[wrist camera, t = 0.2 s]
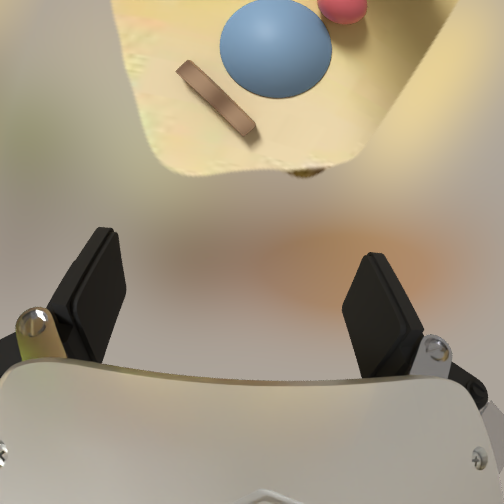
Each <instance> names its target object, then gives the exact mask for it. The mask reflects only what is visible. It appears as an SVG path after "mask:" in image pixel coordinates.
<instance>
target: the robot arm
mask: <svg viewBox="0 0 504 504" xmlns="http://www.w3.org/2000/svg"><path fill="white" fill-rule="evenodd" d="M125 295H126V283H125V277H124V271H123V266H122V259H121V252H120V245H119V238H118V234H117V233H116V232H114V230H113V229H112V228H105V227H98V228H97V229H96V230H95V232H94V233H93V235H92V236H91V238H90V239H89V241H88V242H87V244H86V245H85V247H84V248H83V250H82V251H81V253H80V254H79V256H78V257H77V259H76V260H75V261H74V262H73V263H72V265H71V267H70V268H69V270H68V271H67V273H66V274H65V276H64V278H63V279H62V281H61V283H60V284H59V286H58V288H57V289H56V291H55V293H54V295H53V296H52V298H51V300H50V302H49V304H48V305H47V307H46V308H43V307H33V308H29V309H28V310H26V311H24V312H23V313H22V314H21V315H20V316H19V318H18V319H17V321H16V325H15V331H16V332H14V333H13V334H10V335H8V336H6V337H4V338H2V339H1V340H0V504H504V499H503V493H502V487H501V482H500V477H499V474H500V472H501V470H502V469H503V467H504V414H503V413H502V412H501V411H500V410H499V409H498V408H497V406H496V405H495V404H494V403H493V402H492V401H490V402H488V394H487V390H486V388H485V386H484V385H483V383H482V382H481V381H480V380H478V379H477V378H476V377H474V376H473V375H471V374H470V373H468V372H466V371H465V370H464V369H462V368H460V367H459V366H458V365H456V364H455V363H453V362H452V351H451V348H450V346H449V345H448V343H447V342H446V341H445V340H444V339H442V338H441V337H439V336H437V335H432V334H430V335H426V336H424V335H423V333H422V332H423V331H424V328H423V326H422V324H421V322H420V320H419V318H418V316H417V314H416V312H415V310H414V308H413V306H412V304H411V302H410V300H409V298H408V297H407V295H406V293H405V291H404V289H403V287H402V285H401V284H400V282H399V280H398V278H397V276H396V275H395V273H394V271H393V269H392V268H391V266H390V264H389V262H388V261H387V259H386V257H385V256H384V254H382V253H373V252H369V253H368V254H367V255H365V256H364V257H363V258H362V261H361V263H360V266H359V268H358V270H357V273H356V275H355V277H354V280H353V282H352V285H351V287H350V289H349V291H348V294H347V296H346V298H345V300H344V303H343V305H342V313H343V316H344V319H345V323H346V326H347V329H348V332H349V336H350V339H351V342H352V345H353V349H354V352H355V356H356V359H357V362H358V365H359V369H360V373H361V377H362V379H346V380H319V381H265V380H239V379H223V378H209V377H197V376H186V375H177V374H169V373H160V372H153V371H146V370H139V369H133V368H126V367H119V366H113V365H107V364H101V363H102V361H103V358H104V355H105V352H106V349H107V345H108V343H109V340H110V337H111V334H112V331H113V328H114V325H115V323H116V319H117V317H118V314H119V311H120V309H121V306H122V303H123V300H124V298H125Z"/></svg>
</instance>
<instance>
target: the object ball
mask: <svg viewBox="0 0 504 504" xmlns="http://www.w3.org/2000/svg"><path fill="white" fill-rule="evenodd" d="M317 3H318V7H319V9H320V11H321V12H322V14H323V15H324V16H325V17H326V18H328V19H329V20H331V21H333V22H335V23H338V24H353V23H356V22H358V21H360V20H361V19H362V18H363V17H364V16H365V14H366V12H367V0H317Z"/></svg>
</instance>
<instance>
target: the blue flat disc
mask: <svg viewBox="0 0 504 504" xmlns="http://www.w3.org/2000/svg"><path fill="white" fill-rule="evenodd" d="M331 53H332V45H331V39H330V36H329V33H328V31H327V29H326V27H325V25H324V24H323V22H322V21H321V19H320V18H319V17H318V16H317V15H316V14H315V13H314V12H313V11H311V10H310V9H308V8H307V7H305V6H303V5H301V4H300V3H297V2H294V1H291V0H257V1H254V2H251V3H249V4H247V5H245V6H243V7H242V8H240V9H239V10H237V11H236V12H235V13H234V14H233V15H232V16H231V17H230V19H229V20H228V21H227V23H226V25H225V26H224V29H223V31H222V34H221V39H220V54H221V58H222V61H223V64H224V66H225V68H226V70H227V72H228V73H229V74H230V76H231V77H232V78H233V79H234V80H235V81H236V82H237V83H238V84H239V85H241V86H242V87H243V88H245V89H247V90H248V91H251V92H253V93H255V94H258V95H261V96H266V97H273V98H283V97H290V96H294V95H297V94H300V93H303V92H305V91H306V90H308V89H310V88H311V87H313V86H314V85H315V84H316V83H317V82H318V81H319V80H320V79H321V78H322V77H323V75H324V74H325V72H326V71H327V68H328V66H329V63H330V60H331Z"/></svg>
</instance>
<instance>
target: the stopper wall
mask: <svg viewBox="0 0 504 504" xmlns="http://www.w3.org/2000/svg"><path fill="white" fill-rule="evenodd" d="M175 72H176V73H177V74H179V75H180V76H181V77H182V78H183V79H184V80H185V81H186V82H187V83H188V84H189V85H191V86H192V87H193V88H194V89H195V90H196V91H197V92H198V93H199V94H200V95H201V96H202V97H203V98H205V99H206V100H207V101H208V102H209V103H210V104H211V105H212V106H213V107H214V108H215V109H216V110H217V111H218V112H219V113H220V114H221V115H222V116H223V117H224V118H225V119H226V120H227V121H228V122H229V123H230V124H231V125H232V126H233V127H234V128H235V129H236V130H237V131H238V132H239V133H240V134H241V135H242V136H243V137H244V136H245V135H246V134H247V133H249V132H250V131H251V130H252V129H253V128H255V127H256V126H255V122H254V121H253V120H252V119H251V118H250V117H249V116H248V115H247V114H246V113H245V112H244V111H243V110H242V109H241V108H240V107H239V106H238V105H237V104H236V103H235V102H234V101H233V100H232V99H231V98H230V97H229V96H228V95H227V94H226V93H225V92H224V91H223V90H222V89H221V88H220V87H219V86H218V85H217V84H216V83H215V82H214V81H212V80H211V79H210V78H209V77H208V76H207V75H206V74H205V73H204V72H203V71H202V70H201V69H200V68H199V67H197V66H196V65H195V64H194V63H193V62H192V61H191V60H187V61H186V62H185V63H184V64H182V65H181V66H180V67H179V68H178V69H177V70H176V71H175Z"/></svg>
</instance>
